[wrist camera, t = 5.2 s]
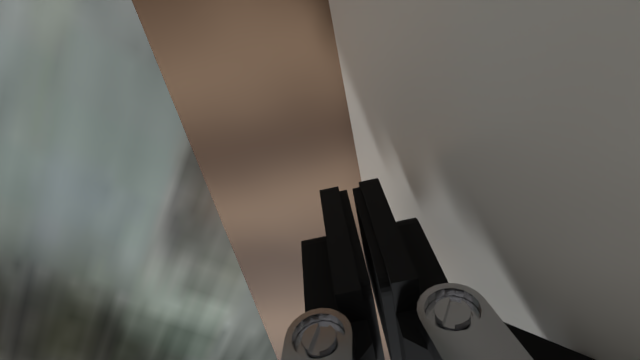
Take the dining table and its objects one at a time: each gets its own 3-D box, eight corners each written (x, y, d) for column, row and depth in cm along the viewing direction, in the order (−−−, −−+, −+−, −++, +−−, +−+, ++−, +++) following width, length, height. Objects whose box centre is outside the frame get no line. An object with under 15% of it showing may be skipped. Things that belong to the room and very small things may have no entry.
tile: (358, -54, 12) (1248, -151, 2) (403, 268, 19) (680, 619, 9) (320, -44, 12) (1111, -104, 2) (379, 278, 19) (634, 649, 9)
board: (41, -274, 11) (8, -304, 9) (1008, -531, 10) (1117, -603, 9) (287, 358, 24) (287, 383, 22) (712, 271, 23) (738, 291, 22)
